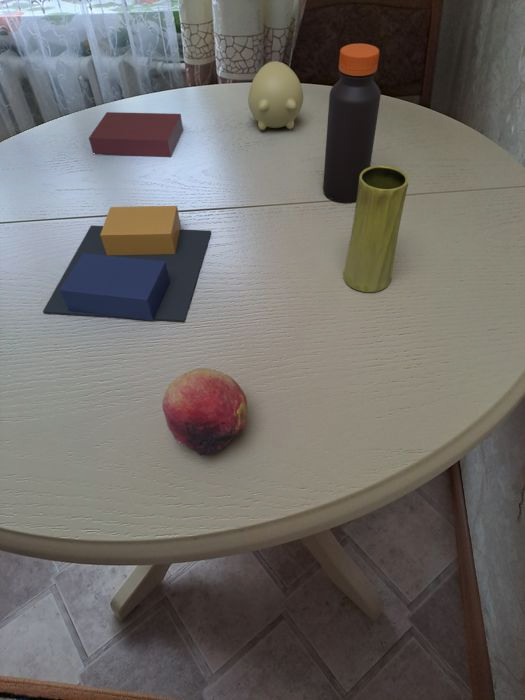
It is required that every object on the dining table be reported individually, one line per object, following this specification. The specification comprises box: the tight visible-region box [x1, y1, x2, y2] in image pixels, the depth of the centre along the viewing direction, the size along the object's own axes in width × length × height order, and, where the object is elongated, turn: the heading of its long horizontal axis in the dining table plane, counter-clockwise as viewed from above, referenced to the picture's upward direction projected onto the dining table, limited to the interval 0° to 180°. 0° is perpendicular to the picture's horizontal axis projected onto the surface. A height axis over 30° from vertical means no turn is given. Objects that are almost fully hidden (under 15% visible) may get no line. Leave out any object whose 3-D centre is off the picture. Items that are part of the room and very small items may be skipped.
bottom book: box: [88, 111, 184, 158], centre depth 90 cm, size 14×10×3 cm
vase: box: [342, 164, 409, 293], centre depth 59 cm, size 6×6×14 cm
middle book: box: [60, 253, 170, 321], centre depth 62 cm, size 11×7×4 cm, turn 79°
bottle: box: [322, 43, 382, 204], centre depth 70 cm, size 7×7×20 cm
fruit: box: [161, 367, 248, 456], centre depth 47 cm, size 8×8×8 cm
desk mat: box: [42, 225, 212, 323], centre depth 67 cm, size 18×18×1 cm
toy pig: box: [247, 61, 304, 131], centre depth 90 cm, size 10×12×11 cm
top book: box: [100, 205, 182, 256], centre depth 69 cm, size 10×7×4 cm
